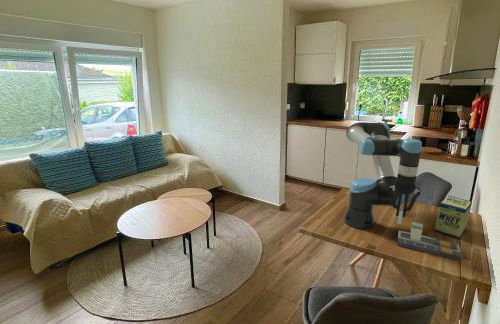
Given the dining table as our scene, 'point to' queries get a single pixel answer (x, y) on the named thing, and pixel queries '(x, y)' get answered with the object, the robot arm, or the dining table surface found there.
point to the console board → (430, 245)
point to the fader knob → (416, 231)
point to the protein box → (453, 217)
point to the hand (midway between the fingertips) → (399, 222)
